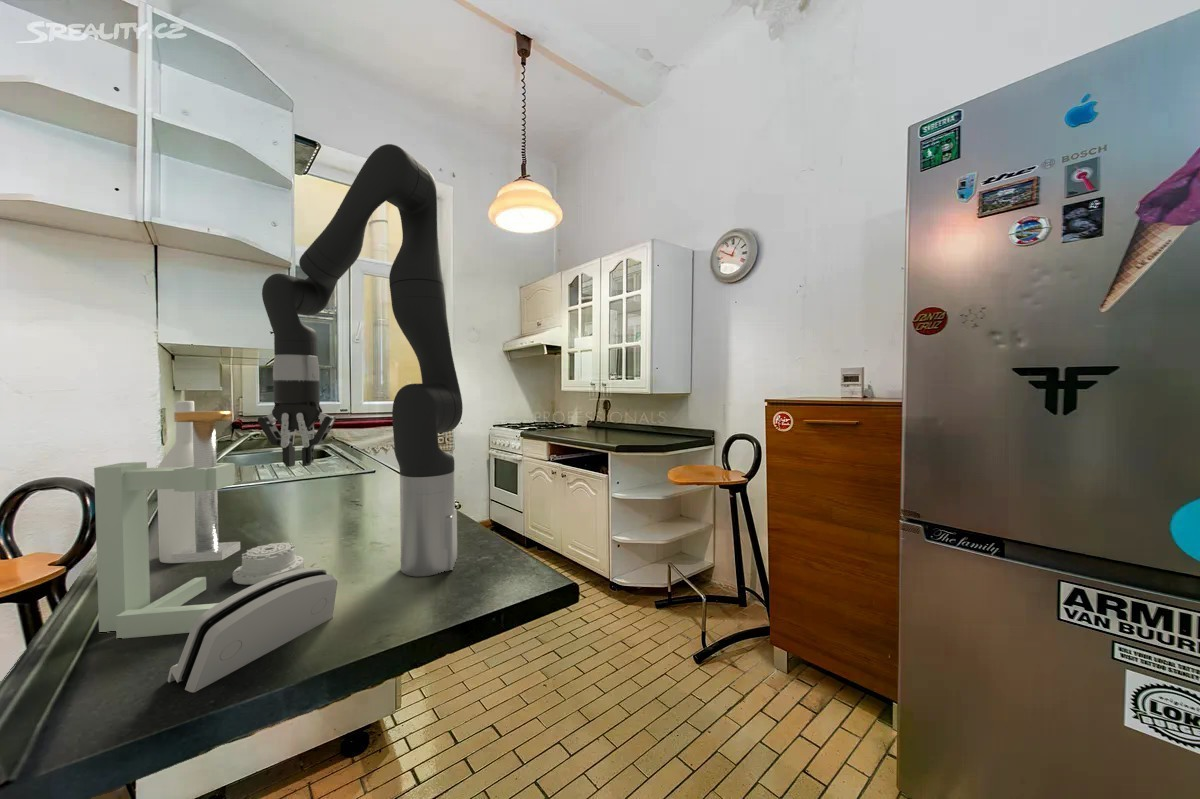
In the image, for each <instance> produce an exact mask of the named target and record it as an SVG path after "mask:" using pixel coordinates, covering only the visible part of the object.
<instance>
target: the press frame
mask: <svg viewBox="0 0 1200 799" xmlns="http://www.w3.org/2000/svg"><path fill="white" fill-rule="evenodd" d="M93 472H94V476H93V477H94V503H95V504H94V505H95V506H94V508H95V511H94V512H95V534H96V535H95V537H96V538H95V540H96V568H97V569H96V573H97V575H96V576H97V577H96V578H97V605H98V606H97V607H98V608H97V610H98V612H97V613H98V633H99V632H107V631H116V633H115V634H116V639H117V638H122V639H130V638H141V637H153V636H155V637H157V636H164V635H166V636H167V635H176V634H178V635H179V634H188V633H190V631H191V628H192V625H193V623H194V621H195V620H196V619H197V618H198V617H199V616H200V615H201V614H203V613H204V612H206V611H207V610H209V609H211V608H212V607H214V606H215V605H217V604H219V603H220V602H216V603H215V602H214V603H204V604H191V605H190V604H189V605H184V604H186V603H187V602H189V601H190V600H192V599H193V598H195V597H196V596H198V595H199V594H201V593H203V592H204V591H206V590H207V576H201V577H199V576H198V577H194V578H192V579H191V580H188V581H187V582H185V583H184V584H182V585H181V586H179V587H177V588H175V589H174V590H172V591H170V592H168V593H167V594H165V595H163V596H161V597H160V598H158V599H156V600H154V601H153V602H151V581H150V580H151V579H150V545H149V544H150V542H149V540H150V539H149V537H150V536H149V509H148V508H149V503H148V491H149V490H150V491H152V490H153V491H154V490H156V491H157V490H158V489H174V491H180V492H194V491H207V490H217V491H218V490H221V489H224V488H227V487H230V486H232V485H233V486H234V485H235V484H236V464H235V463H233V462H232V463H231V462H230V463H229V462H217V466H215V467H211V468H194V465H190V466H186V467H163V468H158V467H147V461H141V462H140V461H139V462H135V461H134V462H118V463H113V464H107V465H102V466H97V467H94V468H93ZM107 633H108V632H107Z"/></svg>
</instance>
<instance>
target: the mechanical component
mask: <svg viewBox="0 0 1200 799" xmlns="http://www.w3.org/2000/svg"><path fill="white" fill-rule="evenodd" d="M304 561H305V560H304V558H303V557H302V556H300V555H296V545H293V543H292V542H290V543H289V542H277V543H275V542H274V543H269V544H264V545H258V546H256V547H252V548H250V549H247V550H246V552H245V553H244V552H243V553H241V566H238V567H237V568H236V569H234V571H232V581H233V582H234V583H235V584H238V585H254V584H256V583H259V582H261V581H263V580H266V579H268V578H271V577H274V576H276V575H279V574H283V573H286V572H290V571H294V570H298V569H304V563H305V562H304Z"/></svg>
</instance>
